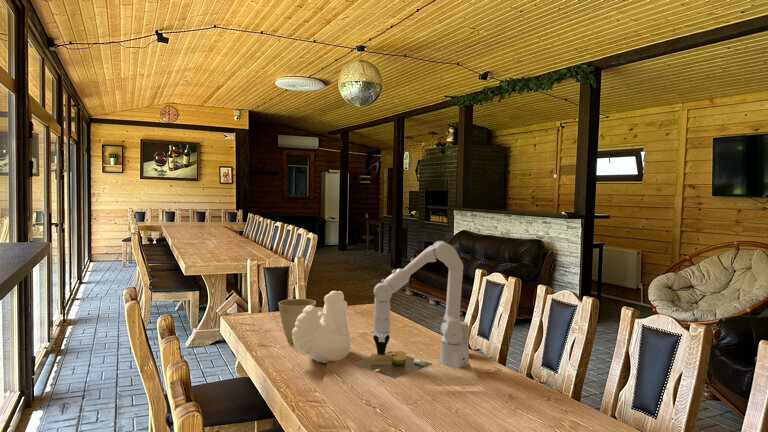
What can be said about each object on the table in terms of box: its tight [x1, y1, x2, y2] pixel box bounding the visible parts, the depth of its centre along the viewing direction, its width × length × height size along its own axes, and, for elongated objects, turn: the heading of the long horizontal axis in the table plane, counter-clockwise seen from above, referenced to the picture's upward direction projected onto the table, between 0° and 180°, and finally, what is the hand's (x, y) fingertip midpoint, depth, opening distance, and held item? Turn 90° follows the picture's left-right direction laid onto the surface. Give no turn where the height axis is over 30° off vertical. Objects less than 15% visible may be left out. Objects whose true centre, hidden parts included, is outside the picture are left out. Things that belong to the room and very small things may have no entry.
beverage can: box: [460, 320, 470, 348], centre depth 195 cm, size 6×6×12 cm
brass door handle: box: [370, 350, 407, 365], centre depth 179 cm, size 12×5×3 cm, turn 98°
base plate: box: [351, 350, 433, 379], centre depth 178 cm, size 20×20×3 cm
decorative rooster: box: [292, 290, 352, 364], centre depth 184 cm, size 25×16×25 cm, turn 129°
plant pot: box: [277, 298, 317, 345], centre depth 208 cm, size 15×15×16 cm
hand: (381, 356), depth 179 cm, fingers closed, pressing on brass door handle
